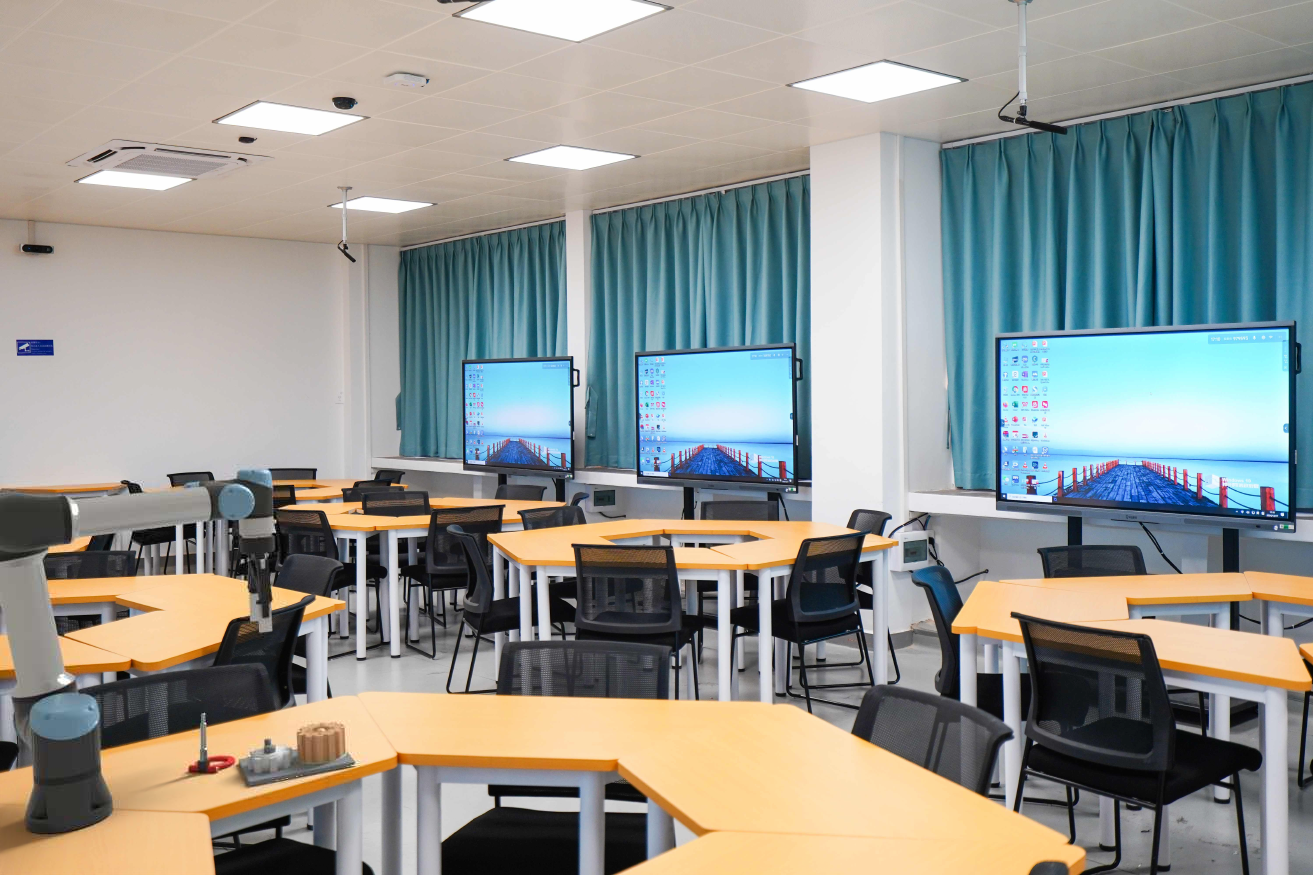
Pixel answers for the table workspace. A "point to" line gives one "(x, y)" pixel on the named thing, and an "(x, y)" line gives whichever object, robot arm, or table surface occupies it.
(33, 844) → the table surface
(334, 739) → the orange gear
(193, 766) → the tow hook
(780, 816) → the table surface
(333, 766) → the gear board
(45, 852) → the table surface
